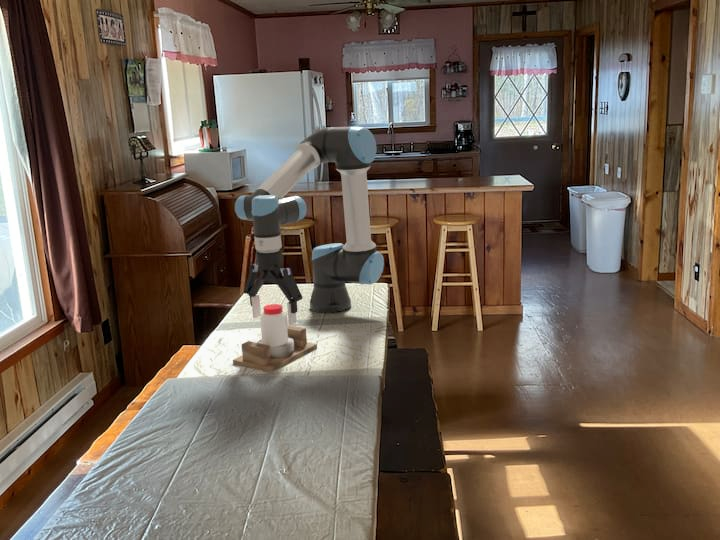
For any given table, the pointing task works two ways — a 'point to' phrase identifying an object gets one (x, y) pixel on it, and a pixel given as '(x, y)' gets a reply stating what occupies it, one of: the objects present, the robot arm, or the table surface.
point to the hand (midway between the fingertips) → (274, 320)
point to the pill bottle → (274, 326)
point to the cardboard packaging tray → (275, 351)
